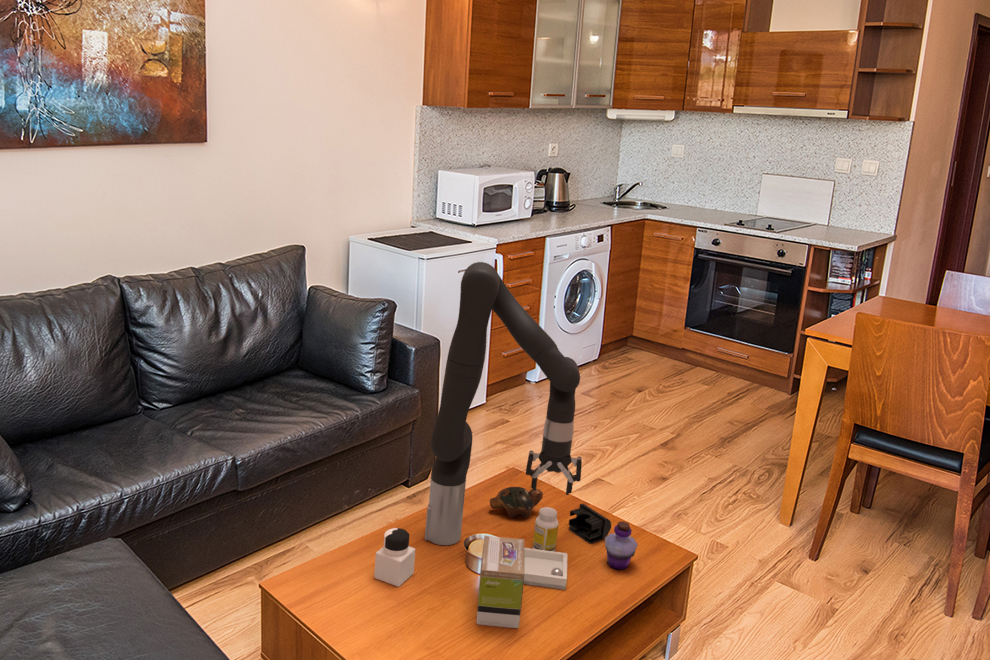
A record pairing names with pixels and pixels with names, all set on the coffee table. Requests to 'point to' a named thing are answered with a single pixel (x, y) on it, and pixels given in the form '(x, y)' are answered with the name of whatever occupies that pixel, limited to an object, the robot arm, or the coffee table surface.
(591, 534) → the end cap
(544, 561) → the tray
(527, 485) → the coffee table surface
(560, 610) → the coffee table surface
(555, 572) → the steel ball
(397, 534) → the medicine bottle
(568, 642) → the coffee table surface
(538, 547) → the pill bottle
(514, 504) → the decorative turtle
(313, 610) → the coffee table surface
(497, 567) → the tea box
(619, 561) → the potion bottle
